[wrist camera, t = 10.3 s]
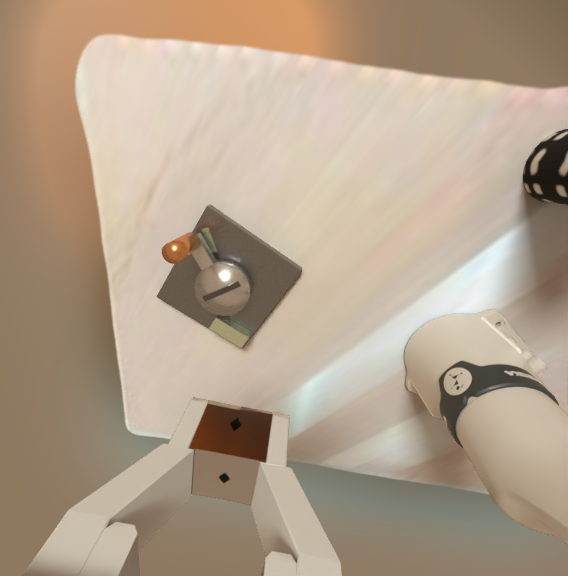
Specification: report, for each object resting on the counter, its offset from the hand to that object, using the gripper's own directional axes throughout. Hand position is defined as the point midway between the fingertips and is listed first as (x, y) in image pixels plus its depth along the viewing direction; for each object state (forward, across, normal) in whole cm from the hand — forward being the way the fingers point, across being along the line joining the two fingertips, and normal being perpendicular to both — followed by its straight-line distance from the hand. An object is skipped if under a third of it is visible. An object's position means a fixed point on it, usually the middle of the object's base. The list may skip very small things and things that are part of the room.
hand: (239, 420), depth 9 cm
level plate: (+34, +8, +10) cm, 37 cm away
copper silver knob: (+33, +10, +8) cm, 35 cm away
